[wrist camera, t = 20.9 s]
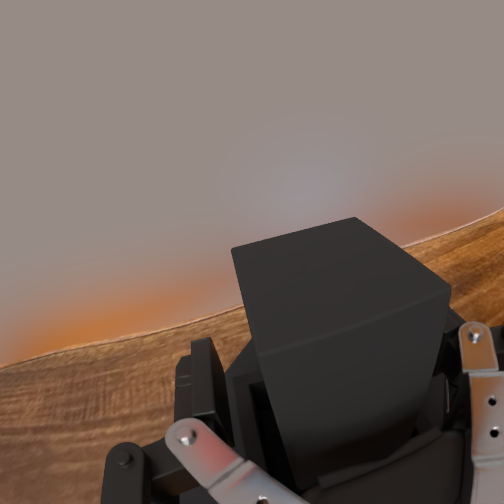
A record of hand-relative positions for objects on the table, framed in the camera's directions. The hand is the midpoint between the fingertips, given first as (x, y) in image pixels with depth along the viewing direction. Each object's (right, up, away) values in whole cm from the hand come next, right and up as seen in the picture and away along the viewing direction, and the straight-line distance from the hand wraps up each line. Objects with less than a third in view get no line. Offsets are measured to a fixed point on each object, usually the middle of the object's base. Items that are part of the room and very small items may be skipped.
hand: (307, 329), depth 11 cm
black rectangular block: (+2, -6, +1) cm, 6 cm away
